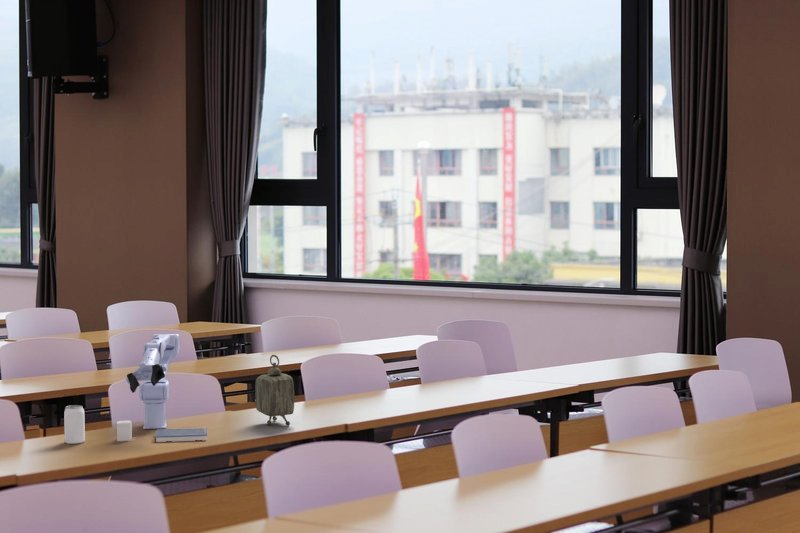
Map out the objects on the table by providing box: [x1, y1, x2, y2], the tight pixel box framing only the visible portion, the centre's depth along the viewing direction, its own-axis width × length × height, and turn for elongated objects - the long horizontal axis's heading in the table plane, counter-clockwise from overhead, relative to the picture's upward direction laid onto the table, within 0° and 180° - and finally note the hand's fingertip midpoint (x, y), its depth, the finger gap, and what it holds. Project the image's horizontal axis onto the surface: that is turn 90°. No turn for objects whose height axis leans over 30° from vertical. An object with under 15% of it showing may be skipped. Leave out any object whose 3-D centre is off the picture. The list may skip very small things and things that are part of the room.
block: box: [116, 420, 133, 442], centre depth 395 cm, size 4×4×6 cm
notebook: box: [155, 427, 208, 443], centre depth 398 cm, size 12×17×2 cm
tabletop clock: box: [254, 354, 295, 427], centre depth 420 cm, size 14×9×25 cm, turn 32°
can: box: [63, 404, 86, 445], centre depth 390 cm, size 6×6×12 cm
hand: (142, 386), depth 394 cm, fingers open, 7 cm apart
